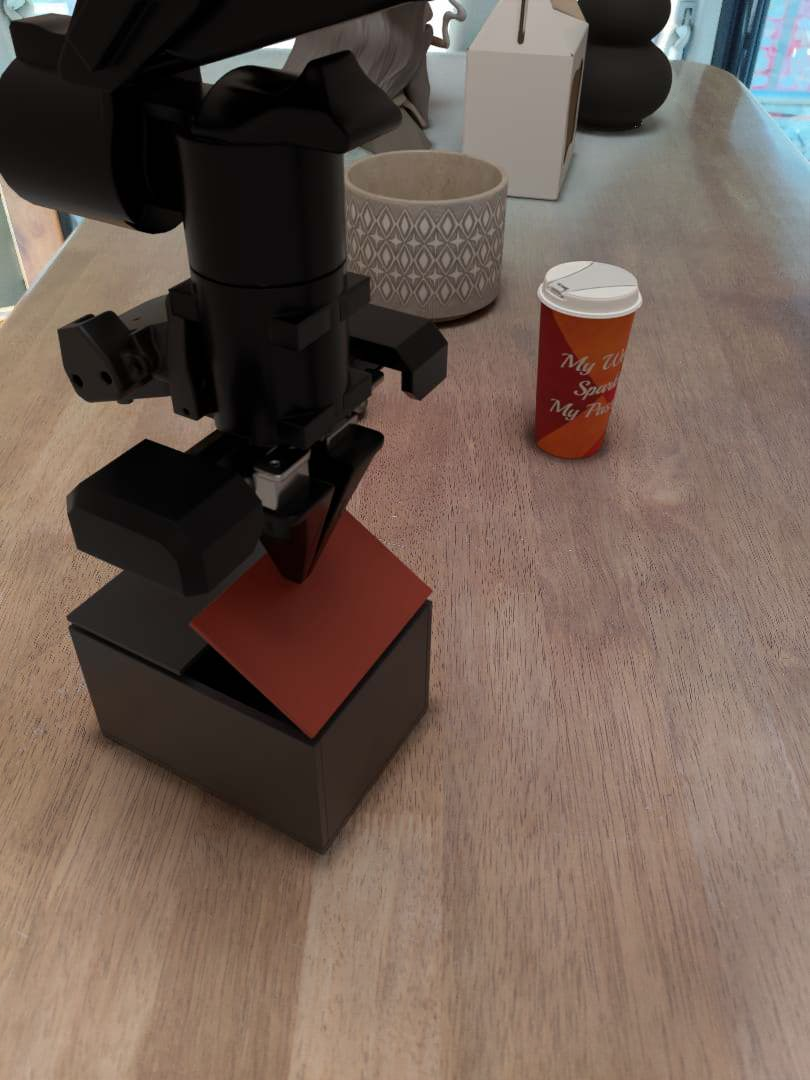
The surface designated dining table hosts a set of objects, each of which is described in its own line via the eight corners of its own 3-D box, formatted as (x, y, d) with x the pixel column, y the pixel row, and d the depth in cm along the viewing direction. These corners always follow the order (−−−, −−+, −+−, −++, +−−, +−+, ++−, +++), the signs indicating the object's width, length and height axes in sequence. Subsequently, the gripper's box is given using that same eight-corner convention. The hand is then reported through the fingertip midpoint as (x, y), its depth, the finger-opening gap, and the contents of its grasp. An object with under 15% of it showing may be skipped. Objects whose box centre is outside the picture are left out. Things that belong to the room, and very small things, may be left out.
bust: (507, 136, 143) (528, -139, 121) (318, 170, 129) (303, -134, 107) (396, 91, 166) (397, -148, 143) (224, 115, 151) (196, -146, 129)
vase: (682, 138, 143) (735, -136, 121) (573, 144, 140) (607, -137, 118) (635, 108, 157) (675, -142, 135) (535, 113, 154) (559, -143, 132)
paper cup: (558, 476, 71) (582, 309, 62) (503, 429, 76) (518, 269, 67) (635, 450, 74) (669, 287, 65) (578, 407, 79) (601, 251, 70)
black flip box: (428, 707, 52) (433, 590, 47) (323, 855, 45) (313, 737, 39) (225, 616, 58) (206, 502, 52) (101, 734, 51) (63, 616, 45)
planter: (382, 257, 105) (382, 141, 97) (518, 280, 100) (529, 161, 92) (318, 313, 93) (311, 187, 85) (468, 343, 88) (476, 212, 80)
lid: (430, 593, 47) (433, 590, 47) (311, 739, 39) (314, 736, 39) (326, 497, 47) (329, 493, 46) (188, 624, 39) (190, 621, 39)
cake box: (487, 146, 139) (501, -72, 121) (573, 153, 137) (600, -68, 119) (459, 192, 122) (470, -53, 105) (556, 201, 120) (585, -48, 102)
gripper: (248, 155, 42) (275, 437, 52) (-102, 301, 30) (21, 637, 39) (460, 197, 38) (445, 496, 48) (158, 389, 25) (223, 740, 35)
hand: (296, 577), depth 43 cm, fingers closed
